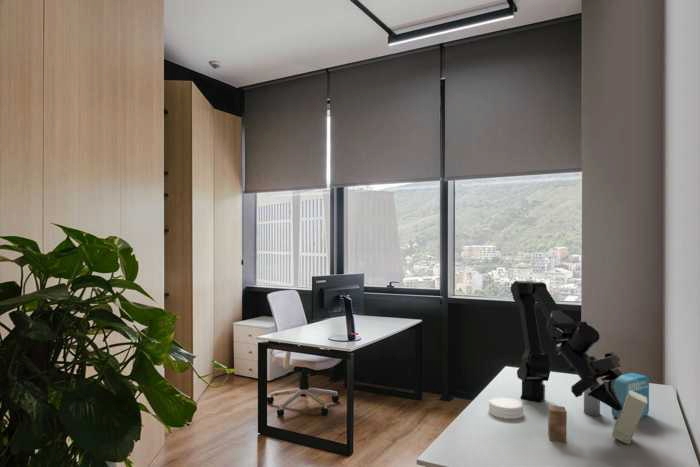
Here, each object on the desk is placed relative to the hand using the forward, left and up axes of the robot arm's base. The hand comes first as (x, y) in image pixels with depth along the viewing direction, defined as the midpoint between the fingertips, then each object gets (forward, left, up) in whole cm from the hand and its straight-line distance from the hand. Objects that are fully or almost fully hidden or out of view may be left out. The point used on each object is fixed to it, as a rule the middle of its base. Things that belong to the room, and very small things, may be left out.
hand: (620, 410), depth 124 cm
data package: (+2, +21, -8) cm, 23 cm away
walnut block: (-14, -9, -8) cm, 18 cm away
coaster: (-30, +2, -8) cm, 31 cm away
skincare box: (0, 0, -7) cm, 7 cm away
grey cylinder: (-8, +17, -8) cm, 21 cm away
